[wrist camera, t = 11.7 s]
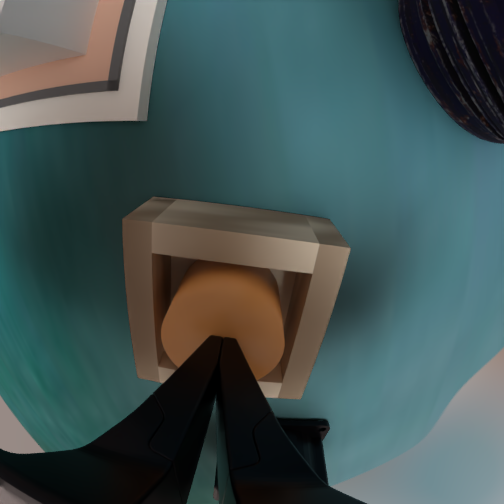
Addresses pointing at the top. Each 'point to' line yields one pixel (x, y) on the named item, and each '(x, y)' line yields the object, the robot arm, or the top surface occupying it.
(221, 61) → the top surface
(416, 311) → the top surface
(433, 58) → the storage jar
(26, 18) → the two-tone rectangular block
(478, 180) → the top surface
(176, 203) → the button block
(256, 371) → the button
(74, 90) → the picture board
